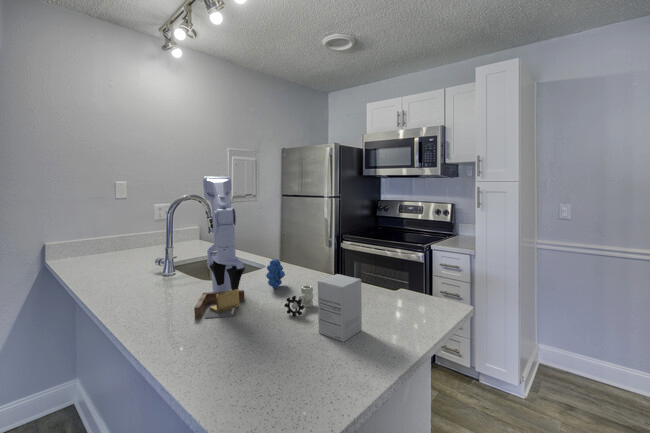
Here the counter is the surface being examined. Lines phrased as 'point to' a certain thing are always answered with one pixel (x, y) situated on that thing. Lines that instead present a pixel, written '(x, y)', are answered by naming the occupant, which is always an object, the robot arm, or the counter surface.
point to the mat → (218, 315)
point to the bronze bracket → (226, 301)
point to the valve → (300, 301)
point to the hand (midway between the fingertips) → (227, 286)
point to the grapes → (275, 273)
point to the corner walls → (210, 301)
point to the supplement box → (339, 307)
